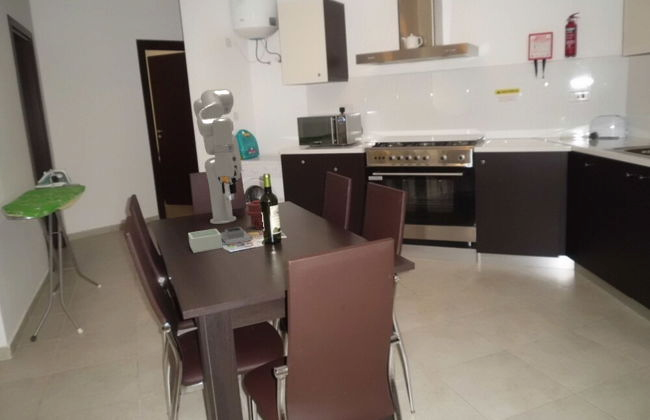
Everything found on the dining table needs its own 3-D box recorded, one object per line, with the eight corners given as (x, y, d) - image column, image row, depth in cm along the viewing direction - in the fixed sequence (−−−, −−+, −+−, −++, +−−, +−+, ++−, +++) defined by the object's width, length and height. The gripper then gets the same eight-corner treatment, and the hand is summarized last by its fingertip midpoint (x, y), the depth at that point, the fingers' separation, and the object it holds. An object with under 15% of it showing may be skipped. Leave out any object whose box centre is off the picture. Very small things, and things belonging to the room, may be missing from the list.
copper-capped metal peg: (229, 197, 212) (226, 174, 210) (238, 198, 210) (235, 174, 208) (222, 200, 208) (219, 176, 206) (230, 200, 206) (228, 176, 204)
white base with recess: (220, 237, 217) (219, 228, 216) (243, 233, 221) (242, 224, 220) (226, 244, 204) (225, 235, 203) (250, 240, 208) (249, 231, 207)
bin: (190, 246, 207) (188, 232, 205) (217, 241, 211) (216, 228, 209) (193, 252, 196) (191, 239, 195) (222, 247, 200) (220, 234, 199)
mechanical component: (273, 224, 233) (266, 230, 223) (252, 225, 235) (245, 230, 225) (270, 198, 230) (263, 203, 221) (250, 199, 232) (242, 203, 223)
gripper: (245, 148, 203) (250, 192, 207) (216, 148, 212) (221, 190, 216) (233, 150, 197) (238, 196, 201) (203, 150, 206) (208, 194, 210)
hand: (229, 192), depth 209 cm, fingers closed on copper-capped metal peg, 3 cm apart
